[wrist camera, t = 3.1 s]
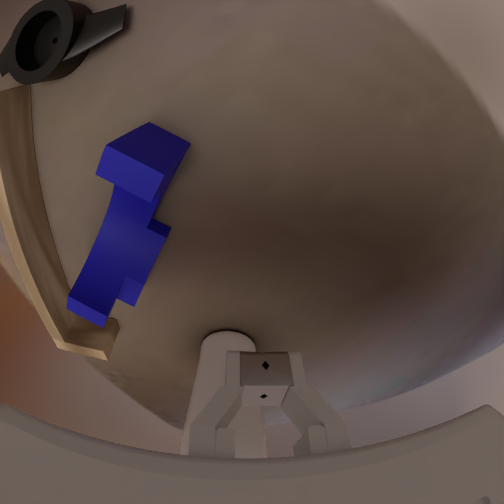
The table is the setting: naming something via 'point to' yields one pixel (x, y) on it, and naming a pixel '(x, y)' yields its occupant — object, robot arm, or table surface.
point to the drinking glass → (209, 382)
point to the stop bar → (39, 233)
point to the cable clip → (128, 221)
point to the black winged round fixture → (56, 39)
